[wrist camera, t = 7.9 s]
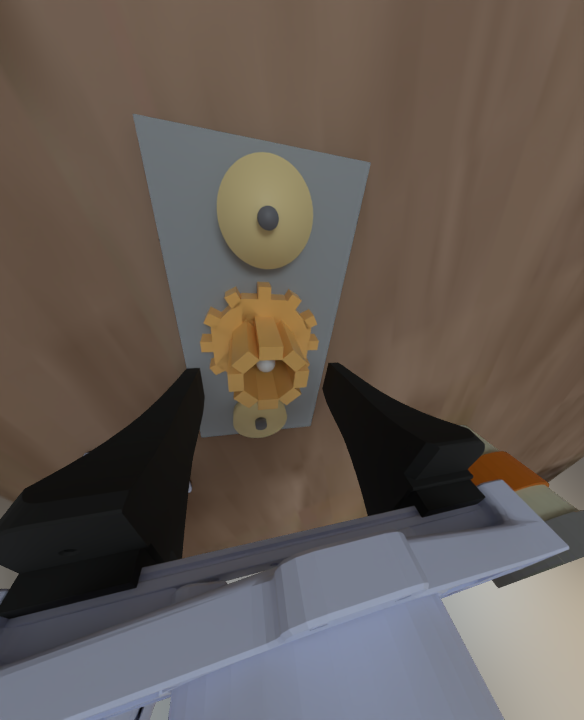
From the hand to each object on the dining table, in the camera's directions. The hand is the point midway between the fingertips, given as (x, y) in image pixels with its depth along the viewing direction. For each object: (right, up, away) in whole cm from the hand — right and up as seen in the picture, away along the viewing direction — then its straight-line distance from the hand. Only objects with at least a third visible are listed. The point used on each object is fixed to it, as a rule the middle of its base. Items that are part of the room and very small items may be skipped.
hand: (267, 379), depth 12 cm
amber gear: (-1, +3, +4) cm, 5 cm away
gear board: (-1, +3, +5) cm, 6 cm away
